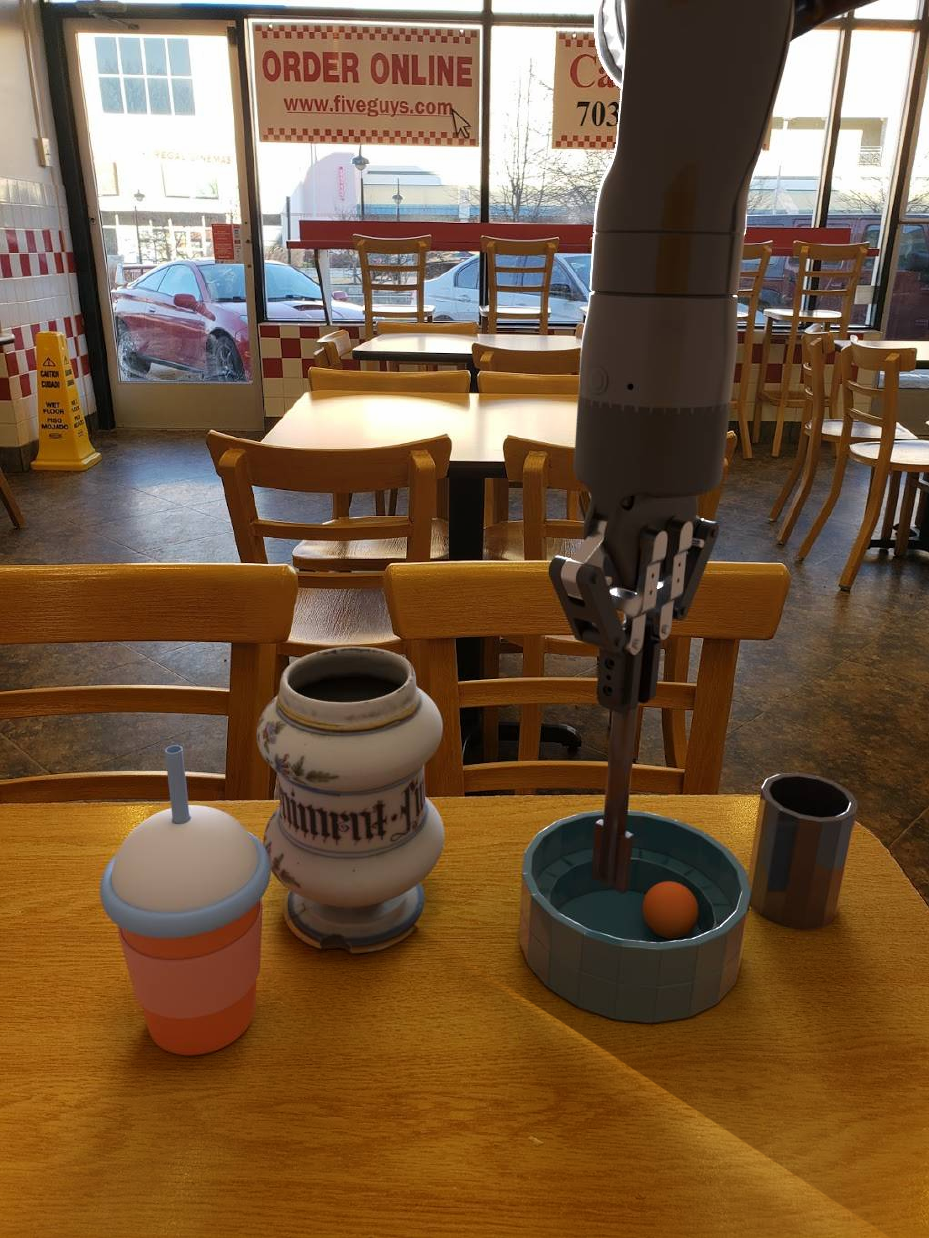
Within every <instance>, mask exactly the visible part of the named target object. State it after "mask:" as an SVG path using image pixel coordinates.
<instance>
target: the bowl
mask: <svg viewBox="0 0 929 1238" xmlns="http://www.w3.org/2000/svg"><path fill="white" fill-rule="evenodd" d="M603 816H604V809H602V810H593V811H584V812H580V813H576V814H573V815H570V816H568V817H564V818H561V819H558V820H556V821H554V822H552V823H551V824H550V825H548V826H547V827H545V828H543V829H542V830H541V831H539V832H538V833H536V834H535V835H534V837H533V839H531V841H530V842H529V845H528V846H527V847H526V848H525V850H524V852H523V856H522V857H523V858H522V868H521V882H520V883H521V884H520V885H521V886H520V908H519V927H518V943H519V945H520V948H521V951H522V954H523V956H524V958H525V961H526V963H527V966H528V968H530V970H531V971H532V972H533V973H534V974H535V975H536V976H537V977H538V979H539V980H540V982H542V984H544V985H545V987H546V988H547V989H549V990H550V991H552V992H553V993H555V994H556V995H558V996H560V997H561V998H562V999H564V1000H566V1001H568V1002H569V1003H571V1004H573V1005H574V1006H576V1007H577V1008H579V1009H583V1010H585V1011H587V1012H591V1013H594V1014H597V1015H600V1016H603V1017H606V1018H608V1019H612V1020H615V1021H625V1022H634V1023H635V1022H636V1023H647V1024H653V1023H663V1022H669V1021H676V1020H682V1019H688V1018H691V1017H693V1016H695V1015H697V1014H699V1013H702V1012H703V1011H706V1010H708V1009H710V1008H712V1007H714V1006H716V1005H717V1004H719V1003H720V1002H721V1001H722V999H723V998H724V997H725V996H726V995H727V994H728V993H729V992H730V991H731V990H732V988H734V986H735V985H736V982H737V978H738V974H739V972H740V968H741V967H740V966H741V963H742V958H743V952H744V944H745V940H746V939H745V938H746V931H747V926H748V920H749V912H750V907H751V904H750V900H751V888H750V885H749V881H748V873H747V870H746V869H745V868H744V866H743V865H742V864H741V863H740V861H739V859H737V857H736V856H735V855H734V854H733V852H732V851H731V850H730V849H729V847H726V846H725V845H724V844H723V843H721V842H720V841H718V840H717V839H716V838H714V837H712V836H711V835H710V834H708V833H707V832H705V831H704V830H701V829H699V828H697V827H694V826H693V825H690V824H687V823H685V822H683V821H682V820H681V821H680V820H679V819H676V818H672V817H669V816H663V815H660V814H655V813H651V812H648V811H643V810H642V811H641V810H629V809H628V816H627V827H626V831H627V832H629V833H631V834H633V835H634V836H633V846H632V856H631V866H630V876H629V887H628V891H626V892H625V893H624V894H622V893H620V892H618V891H616V890H614V889H612V888H610V887H608V886H606V885H604V884H603V883H601V882H599V881H597V880H595V879H593V878H591V871H592V859H593V846H594V834H595V823H596V822H597V821H599V820H603ZM667 881H671V882H676V883H679V884H681V885H683V886H685V887H686V888H687V889H689V890H690V891H691V893H692V894H693V895H694V897H695V899H696V901H697V905H698V919H697V922H696V924H695V926H694V928H693V929H692V930H691V931H690V932H689V933H688V934H686V935H685V936H683V937H680V938H675V939H669V938H664V937H661V936H659V935H657V934H656V933H655V932H653V931H652V930H651V929H650V928H649V926H648V925H647V923H646V921H645V919H644V916H643V901H644V898H645V896H646V894H647V892H648V891H649V890H650V889H651V888H652V887H653V886H655V885H656V884H658V883H661V882H667Z"/></svg>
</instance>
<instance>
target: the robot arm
mask: <svg viewBox="0 0 929 1238" xmlns="http://www.w3.org/2000/svg"><path fill="white" fill-rule="evenodd" d="M879 1H880V0H597V3H596V7H595V14H594V38H595V46H596V49H597V54H598V57H599V60H600V62H601V64H602V67H603V68H604V70H605V71H606V73H607V75H608V76H609V77H610V79H611V80H613V82H614V83H615V85H616V86H618V87H619V88H620V89H621V90H620V100H619V101H620V102H619V110H618V111H619V112H618V122H617V123H618V124H617V134H616V144H615V148H614V153H613V156H612V159H611V162H610V163H609V165H608V167H607V169H606V171H605V173H604V175H603V176H602V179H601V182H600V185H599V189H598V192H597V198H596V203H595V210H594V211H595V212H594V221H593V222H594V224H593V232H594V233H592V248H591V265H590V277H589V278H590V281H589V290H590V291H591V292H590V293H589V297H588V304H587V310H586V316H585V321H584V325H583V330H582V331H583V332H582V337H581V346H580V360H579V374H578V375H579V377H578V392H577V409H576V422H575V423H576V425H575V441H574V457H573V458H574V460H573V474H574V476H575V478H576V479H577V480H578V482H580V483H581V484H583V485H584V486H585V488H586V489H587V490H588V492H589V494H590V500H589V505H588V510H587V513H586V516H585V518H584V522H583V525H582V537H583V542H582V543H581V544H580V546H579V547H578V548H577V550H576V551H575V552H574V553H573V555H572V556H571V557H570V558H568V557H564V556H561V555H556V556H554V557H553V558H552V559H551V561H550V563H549V564H548V565H549V566H548V576H549V579H550V581H551V583H552V587H553V588H554V591H555V593H556V596H557V599H558V601H559V603H560V605H561V609H562V611H563V612H564V615H565V618H566V620H567V622H568V625H569V627H570V630H571V633H572V634H573V637H574V639H575V640H576V641H578V642H580V643H584V644H587V645H590V646H593V647H596V648H598V651H599V654H598V665H597V668H598V669H597V681H596V682H597V683H596V699H597V702H598V704H599V706H601V707H603V708H605V709H607V710H609V711H611V712H612V711H615V712H618V713H620V714H623V715H626V714H628V713H630V712H631V711H633V710H635V709H636V707H637V701H638V703H640V704H647V703H648V702H651V701H652V700H654V699H655V698H656V696H657V690H658V689H657V688H658V679H659V670H660V660H661V651H662V650H661V649H662V641H665V640H667V638H668V637H669V635H670V634H671V632H672V625H673V621H674V620H675V621H678V622H683V621H684V620H686V618H687V616H688V614H689V611H690V608H691V607H692V604H693V601H694V598H695V596H696V593H697V590H698V589H699V585H700V583H701V580H702V578H703V575H704V573H705V570H706V568H707V565H708V562H709V560H710V557H711V555H712V552H713V549H714V547H715V544H716V542H717V538H718V537H719V534H720V525H719V523H718V522H716V521H711V520H706V519H704V518H701V517H700V516H699V515H698V511H699V501H698V496H701V495H705V494H708V493H710V492H712V491H714V490H715V489H716V488H717V487H718V486H719V485H720V484H721V482H722V479H723V473H724V466H725V465H724V464H725V457H726V449H727V448H726V447H727V439H728V433H729V424H730V415H731V406H732V399H733V398H732V396H733V390H734V389H733V388H734V380H735V373H736V372H735V371H736V365H737V355H738V343H739V342H738V341H739V339H738V337H739V336H738V333H739V332H738V330H739V329H738V305H739V304H738V303H739V297H738V296H737V295H738V294H739V290H740V281H741V271H742V264H743V255H744V248H745V238H746V236H745V234H746V230H747V219H748V203H749V194H750V189H751V185H752V181H753V178H754V175H755V172H756V168H757V167H758V164H759V161H760V157H761V154H762V151H763V149H764V145H765V142H766V138H767V134H768V131H769V127H770V123H771V120H772V116H773V113H774V108H775V105H776V102H777V98H778V94H779V90H780V87H781V83H782V79H783V76H784V71H785V67H786V63H787V59H788V55H789V51H790V46H791V43H792V42H794V41H795V40H797V39H799V38H801V37H802V36H804V35H806V34H808V33H810V32H811V31H813V30H814V29H816V28H818V27H819V26H821V25H823V24H825V23H827V22H829V21H831V20H832V19H835V18H837V17H840V16H843V15H844V14H847V13H850V12H852V11H855V10H858V9H861V8H863V7H865V6H868V5H871V4H874V3H875V2H879ZM618 611H621V612H622V613H623V615H622V621H621V619H620V616H619V613H618ZM624 621H626V625H625V628H623V627H622V623H623V622H624ZM644 629H645V637H644ZM643 637H644V647H643V658H642V651H640V649H641V647H642V644H643ZM641 659H642V668H641ZM640 670H641V679H640ZM639 680H640V690H639ZM638 691H639V700H638Z"/></svg>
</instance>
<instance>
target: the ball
mask: <svg viewBox="0 0 929 1238" xmlns="http://www.w3.org/2000/svg"><path fill="white" fill-rule="evenodd" d="M643 916H644V919H645V921H646V923H647V925H648V926H649V928H650V929H651V930H652V931H653V932H655V933H656V934H657V935H659V936H661V937H664V938H669V939H675V938H680V937H683V936H685V935H686V934H688V933H689V932H690V931H691V930H692V929H693V928H694V926H695V924H696V922H697V919H698V905H697V901H696V899H695V897H694V895H693V894H692V893H691V891H690V890H689V889H687V888H686V887H685V886H683V885H681V884H679V883H676V882H671V881H667V882H661V883H658V884H656V885H655V886H653V887H652V888H651V889H650V890H649V891H648V892H647V894H646V896H645V898H644V901H643Z"/></svg>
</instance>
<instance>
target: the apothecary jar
mask: <svg viewBox="0 0 929 1238" xmlns="http://www.w3.org/2000/svg"><path fill="white" fill-rule="evenodd" d="M279 682H280V683H279V690H278V693H277V695H276V696H275V697H274V698H273V699H272V700H271V701H270V702H269V703H268V704H267V705H266V707H265V708H264V709H263V712H262V713H261V715H260V717H259V720H258V723H257V726H256V743H257V747H258V750H259V752H260V754H261V755H260V756H262V758H263V759H264V761H265V762H266V764H268V766H270V768H272V770H273V771H275V772H276V773H277V774H278V775H277V776H278V790H279V806H278V807H277V808H276V809H275V810H274V812H273V813H272V815H271V816H270V818H269V820H268V821H267V823H266V827H265V829H264V833H263V839H262V844H263V845H264V847H265V848H266V850H267V852H268V855H269V858H270V863H271V874H272V875H273V876H274V877H275V878H276V879H277V880H278V881H279V882H280V883H281V885H283V886H284V887H285V888H287V889H288V892H287V894H286V896H285V899H284V903H283V915H284V916H283V917H284V920H285V923H286V924H287V926H288V928H289V930H290V931H291V932H292V933H293V934H294V935H295V937H297V938H298V939H299V940H301V941H302V942H304V944H307V945H309V946H311V947H313V948H315V949H319V950H332V949H343V950H345V951H346V952H348V953H349V954H353V955H354V954H355V955H356V954H366V953H373V952H377V951H382V950H384V949H387V948H389V947H391V946H394V945H396V944H398V943H400V942H402V941H403V940H405V939H406V938H408V937H409V936H410V935H412V934H413V933H414V932H415V931H416V930H417V929H418V926H417V925H416V923H417V921H418V920H419V918H420V917H421V915H422V914H423V910H424V909H425V890H424V887H423V884H422V883H421V882H422V881H424V880H425V879H426V878H427V877H428V876H429V874H430V873H431V872H432V871H433V870H434V868H435V867H436V865H437V864H438V862H439V860H440V858H441V855H442V853H443V850H444V845H445V828H444V824H443V820H442V817H441V815H440V813H439V812H438V810H437V808H436V807H435V805H434V804H433V802H432V801H431V800H430V799H428V797H426V782H425V780H426V779H425V764H426V763H427V762H428V761H429V760H430V759H431V758H432V757H433V756H434V755H435V753H436V752H437V750H438V748H439V746H440V744H441V741H442V737H443V731H444V729H443V719H442V715H441V712H440V710H439V708H438V706H437V705H436V703H435V702H434V701H433V700H432V698H431V697H430V696H429V695H428V694H427V693H426V692H424V690H422V689H421V688H419V687H418V686H417V677H416V672H415V669H414V666H413V665H412V663H411V662H410V661H409V660H408V659H406V658H405V657H404V656H402V655H400V654H398V653H395V652H392V651H389V650H386V649H380V648H376V647H369V646H368V647H367V646H342V647H340V646H339V647H334V648H327V649H322V650H319V651H316V652H312V653H310V654H306V655H304V656H302V657H300V658H298V659H296V660H294V661H293V662H292V663H290V664H289V665H288V666H287V667H286V668H285V669H284V671H283V672H282V674H281V677H280V681H279Z"/></svg>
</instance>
